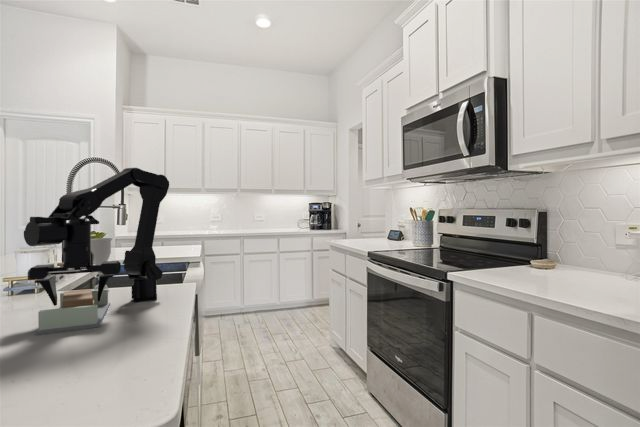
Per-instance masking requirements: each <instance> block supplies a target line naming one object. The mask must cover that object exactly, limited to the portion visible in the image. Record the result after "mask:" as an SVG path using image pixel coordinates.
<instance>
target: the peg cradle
mask: <svg viewBox="0 0 640 427" xmlns="http://www.w3.org/2000/svg"><path fill="white" fill-rule="evenodd" d="M108 290H109V288H108V289H104V291H103V294H102V296H101V299H100V301H98V297H97V296H98V290H93V289H91V291H92V297H93V305H89V306H79V307H69V308H62V302H63V296H64V292H65V291H64V292H63V291H61V292H60V293H59V308H51V309H42V310H39V311H37V313H38V327H37V329H36V330H35V331H34V332H35V335H36V336H38V335H44V334H45V335H46V334H52V333H53V334H54V333H61V332H69V331H77V330H78V331H79V330H85V329H86V330H87V329H93V328H100V326H101V325H102V323H103V320H104V318H105V317H106V315H107V313H106V312H108V311H107V310H109V309H110V307H111V302H109V292H108ZM109 306H110V307H109ZM108 308H109V309H108ZM105 314H106V315H105ZM104 316H105V317H104ZM35 335H34V336H35Z"/></svg>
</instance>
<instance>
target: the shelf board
mask: <svg viewBox="0 0 640 427" xmlns="http://www.w3.org/2000/svg"><path fill="white" fill-rule="evenodd" d="M91 290H92V288H87V289H86V288H85V289H78V290H70V291H64V296H63V302H62V308H69V307H79V306H89V305H93V297H92V291H91Z"/></svg>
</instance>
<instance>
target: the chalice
mask: <svg viewBox="0 0 640 427" xmlns="http://www.w3.org/2000/svg"><path fill="white" fill-rule="evenodd" d="M112 240H113V238H112V237H111V238H110V237H100V238H91V251H92V253H93V254H94V261H93V264H94V265H101V264H102V263H103V262H104V261H109V259H110V256H111V254H112V251H111V250H112V243H111V242H112ZM97 273H98V277H97V279H98V280H99V277H100V275H101V274H102V273H101V272H97ZM98 286H99V283H98V284H97V285H95V286H94V288H93V289H92V290H98ZM104 289H108V293H109V292H110V290H109V287H108V285H107V284H106V285H105V288H104Z"/></svg>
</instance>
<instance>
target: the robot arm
mask: <svg viewBox="0 0 640 427" xmlns="http://www.w3.org/2000/svg"><path fill="white" fill-rule="evenodd" d="M131 185H133V186H135V187H137V188H139V194H140V197H141V199H142V203H141V204H142V205H141V209H140V214H139V220H138V225H137V230H136V235H135V242H134V246H133V247H132V248H131V250H125V252H124V260H123V261H122V264H123V270H124V271H125V272H126V273H127V276H128V279H129V280H133V283H132V284H131V299H132V302H133V303H134V302H135V303H136V302H143V301H144V302H145V301H154V300H157V299H158V293H157V292H158V289H157V285H158V284H157V281H158V280H160V279H162V277H163V274H164V272H163V270H162V269H160V267H159V266H158V265H157V264H156V254H155V251H154V249H153V245H154V244H153V243H154V238H155V233H156V228H157V222H158V216H159V211H160V205H161V203H162V201H163V200H164V199H165V197H166V196H167V193H168V192H169V188H170V181H169V179H168V178H167V177H166V176H165V175H164V174H157V173H153V172H150V171H145V170H143V169H141V168H138V167H126V168H124V169H123V170H121V171H119V172H118V173H115V174H113V175H112V176H110V177H108V178H107V179H104V180H102V181H101V182H99V183H97V184H95V185H93V186H90V187H88V188H85V189H80V190H76V191H73V192H70V193H67V194H63V195H62V196H61V197H60V198H59V200H58V205H57V206H55V208H54V210H52V212H51V213H50V214H49V216H48V217H44V216H30V217H29V222H28V223H26V225H25V227H24V230H23V239H24V242H25V243H26V245H28V246H29V247H40V246H50V245H51V246H52V245H60V244H61V243H63V248H62V254H61V262H62V263H63V264H62V266H55V265H54V264H53V263H52V264H36V265H34V266H32V267H30V268H29V269H28V270H27V281H28V280H29V281H32V280H33V281H34V283H35V284H40V286H41V287H42V288H43V289H44V290H45V292H46V294H47V296H48V298H49V299H50V301H51V303H52V305H53V306H54V307H57V305H58V294H57V287H56V286H57V285H56V282H57V281H56V279H57V275H71V274H84V273H86V274H87V273H98V272H101V273H102V274H101V275H100V277H99V276H98V277H99V279H98V284H99V286H98V296H97V297H98V301H100V299H101V296H102V294H103V291H104V288H105V285H107V283H108V280H109V279H110V278H114V277H115V275H118V274H119V273H120V272H121V271H122V270H121V268H122V267H121V266H122V264H121V261H119V260H108V261H104V262H103V263H102V264H101V265H95V264H94V262H93V261H94V254H93V253H92V251H91V239H92V226H91V225H98V224H100V221H99V220H98V219H96V218H95V217H94V216H93V215H92V214H93V213H94V212H96V211H97V210H98V209H99V208H100V207H101V206H102V204H103V202H104V201H105V200H106V199H108V198H110V197H112V196H113V195H115V194H117V193H119V192H120V191H122V190H123V189H125V188H127V187H129V186H131ZM82 217H83V218H82ZM67 221H69V222H67Z"/></svg>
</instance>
